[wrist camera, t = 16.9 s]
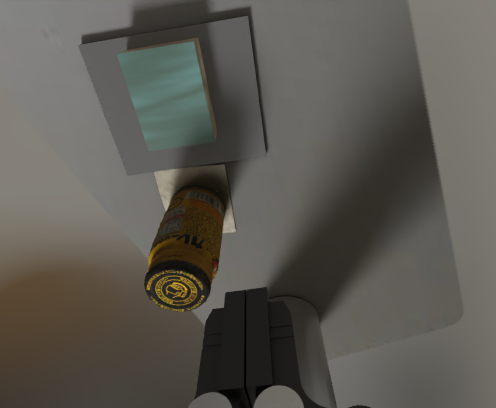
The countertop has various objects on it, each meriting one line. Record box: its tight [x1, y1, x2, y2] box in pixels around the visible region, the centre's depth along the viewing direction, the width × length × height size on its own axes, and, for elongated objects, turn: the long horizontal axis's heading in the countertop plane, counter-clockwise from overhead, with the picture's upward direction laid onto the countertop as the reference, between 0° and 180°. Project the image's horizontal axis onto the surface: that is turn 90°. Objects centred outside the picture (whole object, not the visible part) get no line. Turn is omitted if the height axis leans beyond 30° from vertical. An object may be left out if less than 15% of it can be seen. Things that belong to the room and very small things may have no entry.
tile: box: [117, 38, 217, 151], centre depth 28 cm, size 2×6×8 cm
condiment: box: [144, 165, 236, 312], centre depth 31 cm, size 7×8×12 cm
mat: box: [78, 16, 266, 175], centre depth 30 cm, size 12×14×1 cm
